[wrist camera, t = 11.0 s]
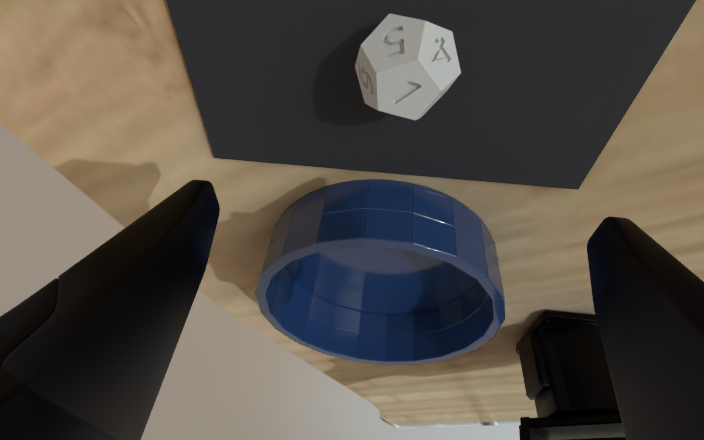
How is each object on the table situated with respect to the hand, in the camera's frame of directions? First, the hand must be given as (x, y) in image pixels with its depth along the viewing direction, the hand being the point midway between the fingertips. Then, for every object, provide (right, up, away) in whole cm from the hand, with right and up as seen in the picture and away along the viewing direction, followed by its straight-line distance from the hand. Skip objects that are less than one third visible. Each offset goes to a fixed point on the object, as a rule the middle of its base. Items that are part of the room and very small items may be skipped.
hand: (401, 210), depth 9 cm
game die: (+1, +6, +6) cm, 9 cm away
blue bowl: (+1, -3, +16) cm, 17 cm away
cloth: (+1, +7, +6) cm, 9 cm away
